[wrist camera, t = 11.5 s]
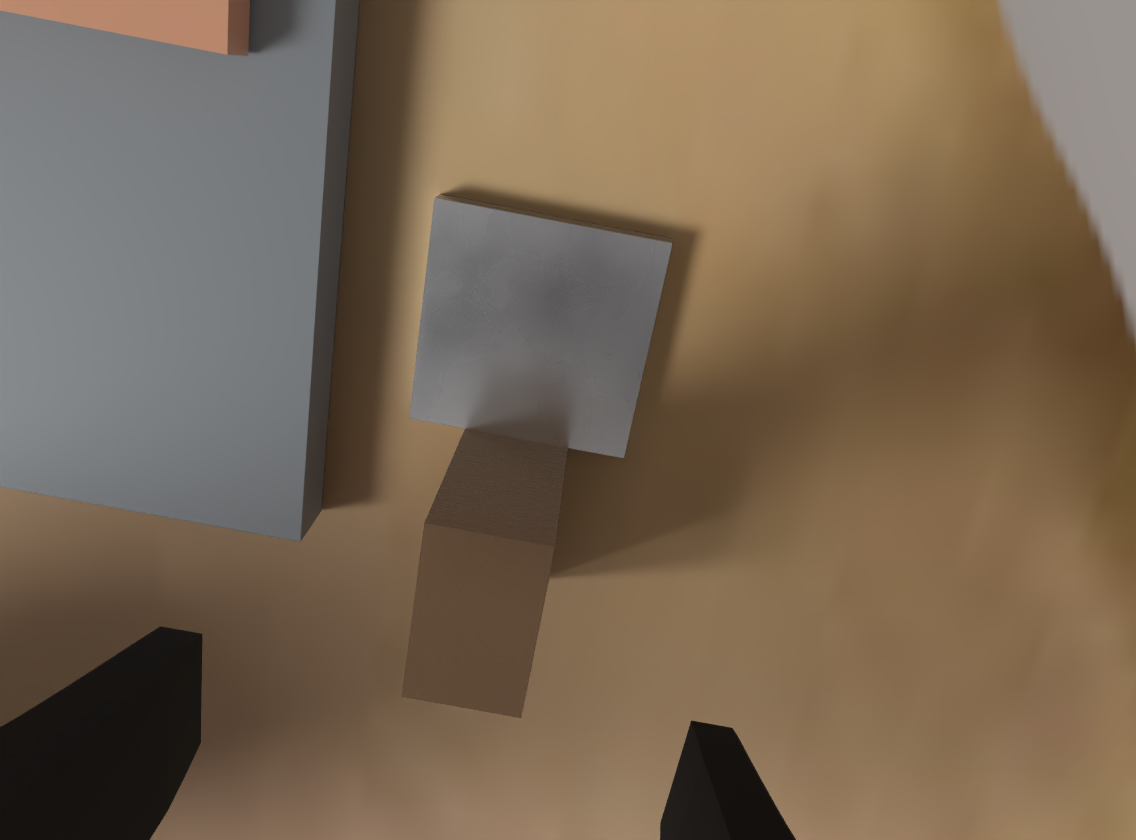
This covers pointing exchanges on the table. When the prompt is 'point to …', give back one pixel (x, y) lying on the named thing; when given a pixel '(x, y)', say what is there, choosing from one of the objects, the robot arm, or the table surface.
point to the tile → (153, 19)
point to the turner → (515, 423)
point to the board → (173, 264)
